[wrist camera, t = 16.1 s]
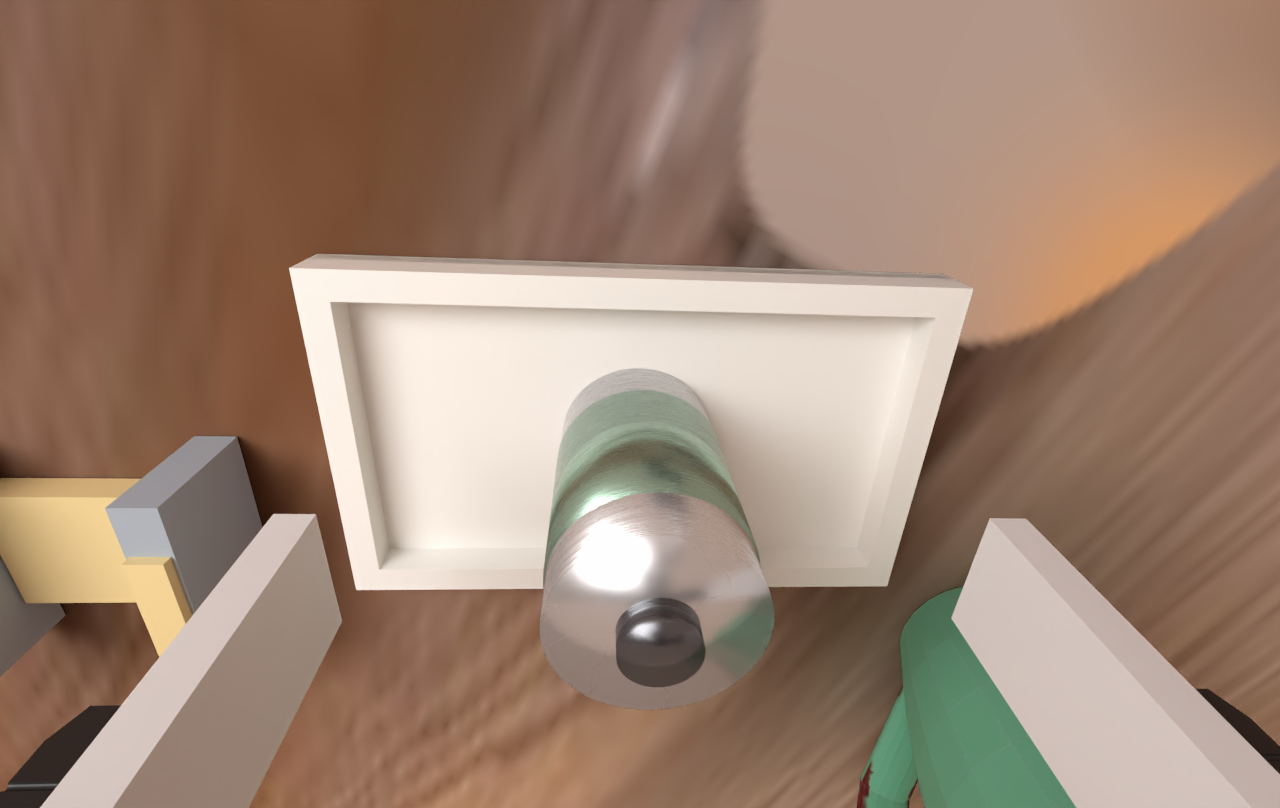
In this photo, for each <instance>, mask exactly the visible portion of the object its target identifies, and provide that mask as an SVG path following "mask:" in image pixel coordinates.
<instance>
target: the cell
mask: <svg viewBox="0 0 1280 808" xmlns="http://www.w3.org/2000/svg"><path fill="white" fill-rule="evenodd" d="M543 588H544V592H543V600H542V609H541V617H540V639H541V645H542V648H543V651H544V654H545V656H546V658H547V660H548V662H549V664H550V665H551V667H552V668H553V669H554V671H555V672H556V673H557V674H558V675H559V676H560V677H561V678H562V679H563V680H564V681H565V682H566V683H567V684H568V685H570V686H571V687H572V688H574V689H575V690H577V691H578V692H580V693H582V694H583V695H585V696H587V697H590V698H592V699H594V700H596V701H599V702H602V703H605V704H608V705H612V706H617V707H621V708H628V709H637V710H658V709H669V708H676V707H681V706H685V705H689V704H693V703H696V702H699V701H702V700H705V699H707V698H710V697H712V696H714V695H716V694H719V693H720V692H722V691H724V690H726V689H727V688H729V687H731V686H732V685H733V684H735V683H736V682H738V681H739V680H740V679H742V678H743V677H744V676H745V675H746V674H747V673H748V672H749V671H750V670H751V669H752V668H753V667H754V666H755V665H756V663H757V662H758V661H759V660H760V658H761V657H762V655H763V654H764V652H765V650H766V648H767V646H768V644H769V642H770V639H771V636H772V632H773V628H774V619H775V616H774V605H773V601H772V597H771V594H770V591H769V588H768V585H767V582H766V579H765V577H764V574H763V571H762V568H761V565H760V558H759V554H758V550H757V547H756V544H755V541H754V538H753V535H752V533H751V530H750V527H749V524H748V521H747V519H746V516H745V513H744V510H743V507H742V505H741V502H740V499H739V496H738V494H737V491H736V488H735V485H734V482H733V480H732V477H731V474H730V471H729V468H728V466H727V463H726V460H725V457H724V455H723V452H722V449H721V446H720V443H719V441H718V438H717V436H716V433H715V431H714V429H713V427H712V426H711V423H710V421H709V418H708V415H707V412H706V410H705V408H704V405H703V403H702V402H701V400H700V399H699V397H698V396H697V394H696V393H695V392H694V391H693V390H692V389H691V388H690V387H689V386H688V385H687V384H685V383H684V382H682V381H681V380H679V379H678V378H676V377H674V376H672V375H670V374H667V373H664V372H661V371H658V370H653V369H645V368H630V369H624V370H619V371H615V372H612V373H609V374H606V375H604V376H602V377H600V378H598V379H596V380H595V381H593V382H592V383H590V384H589V385H588V386H586V387H585V388H584V389H583V390H582V391H581V392H580V393H579V394H578V395H577V397H576V398H575V399H574V401H573V402H572V404H571V405H570V407H569V409H568V411H567V414H566V417H565V420H564V425H563V431H562V440H561V444H560V447H559V452H558V458H557V466H556V474H555V482H554V490H553V498H552V506H551V514H550V522H549V530H548V538H547V546H546V554H545V563H544V571H543Z"/></svg>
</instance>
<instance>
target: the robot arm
mask: <svg viewBox="0 0 1280 808" xmlns="http://www.w3.org/2000/svg"><path fill="white" fill-rule="evenodd" d="M951 619H952V620H953V622H954V623H955V625H956V626H957V628H958V629H959V631H960V632H961V634H962V635H963V637H964V638H965V640H966V641H967V643H968V644H969V646H970V647H971V649H972V650H973V652H974V653H975V655H976V657H977V658H978V660H979V661H980V663H981V664H982V666H983V667H984V669H985V670H986V672H987V673H988V675H989V676H990V678H991V679H992V681H993V682H994V684H995V685H996V687H997V688H998V690H999V691H1000V693H1001V694H1002V696H1003V697H1004V699H1005V700H1006V702H1007V703H1008V705H1009V706H1010V708H1011V710H1012V711H1013V713H1014V714H1015V716H1016V717H1017V719H1018V720H1019V722H1020V723H1021V725H1022V726H1023V728H1024V729H1025V731H1026V732H1027V734H1028V735H1029V737H1030V738H1031V740H1032V741H1033V743H1034V744H1035V746H1036V747H1037V749H1038V750H1039V752H1040V753H1041V755H1042V756H1043V758H1044V760H1045V761H1046V763H1047V764H1048V766H1049V767H1050V769H1051V770H1052V772H1053V773H1054V775H1055V776H1056V778H1057V779H1058V781H1059V782H1060V784H1061V785H1062V787H1063V788H1064V790H1065V791H1066V793H1067V794H1068V796H1069V797H1070V799H1071V800H1072V802H1073V803H1074V805H1075V806H1076V808H1280V746H1278V745H1277V744H1276V743H1275V742H1274V741H1273V740H1272V739H1271V738H1270V737H1269V736H1268V735H1267V734H1266V733H1265V732H1264V731H1263V730H1262V729H1261V728H1260V727H1259V726H1258V725H1257V724H1256V723H1255V722H1254V721H1253V720H1252V719H1251V718H1249V717H1248V716H1246V715H1245V714H1243V713H1242V712H1240V711H1239V710H1238V709H1236V708H1235V707H1233V706H1232V705H1230V704H1229V703H1227V702H1226V701H1224V700H1223V699H1222V698H1220V697H1219V696H1217V695H1216V694H1214V693H1213V692H1211V691H1210V690H1209V689H1195V688H1194V687H1193V686H1192V685H1191V684H1190V683H1189V682H1188V681H1187V680H1186V679H1185V678H1184V677H1183V676H1182V675H1181V674H1180V673H1179V672H1178V671H1177V670H1176V669H1175V668H1174V667H1173V666H1172V665H1171V664H1170V663H1169V662H1168V661H1167V660H1166V659H1165V658H1164V657H1163V656H1162V655H1161V654H1160V653H1159V652H1158V651H1157V650H1156V649H1155V648H1154V647H1153V646H1152V645H1151V644H1150V643H1149V642H1148V641H1147V640H1146V639H1145V638H1144V637H1143V636H1142V635H1141V634H1140V633H1139V632H1138V631H1137V630H1136V629H1135V628H1134V627H1133V626H1132V625H1131V624H1130V623H1129V622H1128V621H1127V620H1126V619H1125V618H1124V617H1123V616H1122V615H1121V614H1120V613H1119V612H1118V611H1117V610H1116V609H1115V608H1114V607H1113V606H1112V605H1111V604H1110V603H1109V602H1108V601H1107V600H1106V599H1105V598H1104V597H1103V596H1102V595H1101V594H1100V593H1099V592H1098V591H1097V590H1096V589H1095V588H1094V587H1093V586H1092V585H1091V584H1090V583H1089V582H1088V581H1087V580H1086V579H1085V577H1084V576H1083V575H1082V574H1081V573H1080V572H1079V571H1078V570H1077V569H1076V568H1075V567H1074V566H1073V565H1072V564H1071V563H1070V562H1069V561H1068V560H1067V559H1066V558H1065V557H1064V556H1063V555H1062V554H1061V553H1060V552H1059V551H1058V550H1057V549H1056V548H1055V547H1054V546H1053V545H1052V544H1051V543H1050V542H1049V541H1048V540H1047V539H1046V538H1045V537H1044V536H1043V535H1042V534H1041V533H1040V532H1039V531H1038V530H1037V529H1036V528H1035V527H1034V526H1033V525H1032V524H1031V523H1030V522H1029V521H1028V520H1027V519H1007V518H990V519H989V522H988V524H987V527H986V529H985V532H984V535H983V537H982V540H981V542H980V545H979V548H978V550H977V553H976V555H975V558H974V560H973V563H972V566H971V568H970V571H969V573H968V576H967V579H966V581H965V584H964V586H963V589H962V592H961V594H960V597H959V599H958V602H957V605H956V607H955V610H954V612H953V615H952V618H951ZM341 623H342V619H341V615H340V611H339V606H338V602H337V598H336V594H335V590H334V586H333V582H332V578H331V574H330V570H329V566H328V562H327V557H326V553H325V549H324V545H323V541H322V537H321V533H320V529H319V525H318V521H317V517H316V514H273V515H272V516H271V518H270V519H269V520H268V521H267V523H266V524H265V525H264V526H263V528H262V529H261V530H260V531H259V533H258V534H257V535H256V536H255V538H254V539H253V540H252V541H251V543H250V544H249V545H248V546H247V548H246V549H245V550H244V552H243V553H242V554H241V555H240V557H239V558H238V559H237V560H236V562H235V563H234V564H233V565H232V567H231V568H230V569H229V570H228V572H227V573H226V574H225V575H224V577H223V578H222V579H221V580H220V582H219V583H218V584H217V586H216V587H215V588H214V589H213V591H212V592H211V593H210V594H209V596H208V597H207V598H206V599H205V601H204V602H203V603H202V604H201V606H200V607H199V608H198V609H197V611H196V612H195V613H194V614H193V616H192V617H191V618H190V619H189V621H188V622H187V623H186V625H185V626H184V627H183V628H182V630H181V631H180V632H179V633H178V635H177V636H176V637H175V638H174V640H173V641H172V642H171V643H170V645H169V646H168V647H167V648H166V650H165V651H164V652H163V653H162V655H161V656H160V657H159V659H158V660H157V661H156V662H155V664H154V665H153V666H152V667H151V669H150V670H149V671H148V672H147V674H146V675H145V676H144V677H143V679H142V680H141V681H140V682H139V684H138V685H137V686H136V687H135V689H134V690H133V691H132V692H131V694H130V695H129V696H128V698H127V699H126V700H125V701H124V703H123V704H122V705H121V706H90V707H88V708H87V709H86V710H84V711H83V712H82V713H81V714H79V715H78V716H77V717H75V718H74V719H73V720H71V721H70V722H69V723H68V724H66V725H65V726H64V727H62V728H61V729H60V730H58V731H57V732H56V733H54V734H53V735H52V736H51V737H49V738H48V739H47V740H45V741H44V742H43V743H42V745H41V746H40V747H39V748H38V749H37V750H36V751H35V753H34V754H33V755H32V756H31V757H30V758H29V760H28V761H27V762H26V763H25V764H24V765H23V766H22V768H21V769H20V770H19V771H18V772H17V773H16V774H15V776H14V777H13V778H12V779H11V780H10V781H9V783H8V788H7V789H6V790H5V791H3V792H0V808H249V806H250V804H251V802H252V800H253V798H254V796H255V794H256V792H257V790H258V788H259V786H260V784H261V782H262V780H263V778H264V776H265V774H266V772H267V770H268V768H269V766H270V764H271V762H272V760H273V758H274V756H275V754H276V752H277V750H278V748H279V746H280V744H281V742H282V740H283V738H284V736H285V734H286V732H287V730H288V728H289V726H290V724H291V722H292V720H293V718H294V716H295V714H296V712H297V710H298V708H299V706H300V704H301V702H302V700H303V698H304V696H305V694H306V692H307V690H308V688H309V686H310V684H311V682H312V680H313V678H314V676H315V674H316V672H317V670H318V669H319V667H320V665H321V663H322V661H323V659H324V657H325V655H326V653H327V651H328V649H329V647H330V645H331V643H332V641H333V639H334V637H335V635H336V633H337V631H338V629H339V627H340V625H341Z"/></svg>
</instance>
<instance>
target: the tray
mask: <svg viewBox="0 0 1280 808" xmlns="http://www.w3.org/2000/svg"><path fill="white" fill-rule="evenodd" d="M289 270H290V275H291V280H292V284H293V289H294V294H295V299H296V304H297V308H298V313H299V318H300V323H301V328H302V332H303V337H304V342H305V347H306V352H307V356H308V361H309V366H310V371H311V376H312V380H313V385H314V390H315V395H316V400H317V404H318V409H319V414H320V419H321V424H322V428H323V433H324V438H325V443H326V448H327V452H328V457H329V462H330V467H331V472H332V476H333V481H334V486H335V491H336V496H337V500H338V505H339V510H340V515H341V520H342V524H343V529H344V534H345V539H346V544H347V548H348V553H349V558H350V563H351V568H352V572H353V577H354V582H355V587H356V590H436V589H544V588H543V571H544V563H545V554H546V546H547V538H548V530H549V522H550V514H551V506H552V498H553V490H554V482H555V474H556V466H557V458H558V452H559V447H560V444H561V440H562V431H563V425H564V420H565V417H566V414H567V411H568V409H569V407H570V405H571V404H572V402H573V401H574V399H575V398H576V397H577V395H578V394H579V393H580V392H581V391H582V390H583V389H584V388H585V387H586V386H588V385H589V384H590V383H592V382H593V381H595V380H596V379H598V378H600V377H602V376H604V375H606V374H609V373H612V372H615V371H619V370H624V369H630V368H645V369H653V370H658V371H661V372H664V373H667V374H670V375H672V376H674V377H676V378H678V379H679V380H681V381H682V382H684V383H685V384H687V385H688V386H689V387H690V388H691V389H692V390H693V391H694V392H695V393H696V394H697V396H698V397H699V399H700V400H701V402H702V403H703V405H704V408H705V410H706V412H707V415H708V418H709V421H710V423H711V426H712V427H713V429H714V431H715V433H716V436H717V438H718V441H719V443H720V446H721V449H722V452H723V455H724V457H725V460H726V463H727V466H728V468H729V471H730V474H731V477H732V480H733V482H734V485H735V488H736V491H737V494H738V496H739V499H740V502H741V505H742V507H743V510H744V513H745V516H746V519H747V521H748V524H749V527H750V530H751V533H752V535H753V538H754V541H755V544H756V547H757V550H758V554H759V558H760V565H761V568H762V571H763V574H764V577H765V579H766V582H767V585H768V587H847V586H887V585H888V581H889V578H890V575H891V571H892V568H893V564H894V561H895V557H896V554H897V550H898V547H899V544H900V540H901V537H902V533H903V530H904V526H905V523H906V519H907V516H908V513H909V509H910V506H911V502H912V499H913V495H914V492H915V489H916V485H917V482H918V478H919V475H920V471H921V468H922V464H923V461H924V458H925V454H926V451H927V447H928V444H929V440H930V437H931V433H932V430H933V427H934V423H935V420H936V416H937V413H938V409H939V406H940V402H941V399H942V396H943V392H944V389H945V385H946V382H947V378H948V375H949V372H950V368H951V365H952V361H953V358H954V354H955V351H956V347H957V344H958V341H959V337H960V334H961V330H962V327H963V323H964V320H965V316H966V313H967V309H968V306H969V302H970V299H971V296H972V292H973V288H971V287H969V286H967V285H965V284H963V283H960V282H959V281H956V280H954V279H952V278H950V277H948V276H946V275H944V274H936V273H905V272H874V271H843V270H812V269H781V268H749V267H718V266H687V265H655V264H624V263H593V262H561V261H530V260H498V259H467V258H436V257H404V256H373V255H342V254H316V255H314V256H312V257H310V258H308V259H306V260H304V261H302V262H300V263H298V264H296V265H294V266H292V267H290V268H289Z"/></svg>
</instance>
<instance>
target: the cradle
mask: <svg viewBox="0 0 1280 808" xmlns="http://www.w3.org/2000/svg"><path fill="white" fill-rule="evenodd" d="M262 528H263V527H262V524H261V520H260V517H259V513H258V509H257V506H256V502H255V499H254V495H253V492H252V488H251V484H250V481H249V477H248V474H247V470H246V467H245V463H244V459H243V456H242V452H241V449H240V445H239V442H238V438H237V437H228V436H194V437H193V438H192V439H190V440H189V441H188V442H187V443H185V444H184V445H183V446H182V447H181V448H179V449H178V450H177V451H176V452H174V453H173V454H172V455H171V456H169V457H168V458H167V459H166V460H164V461H163V462H162V463H161V464H159V465H158V466H157V467H156V468H154V469H153V470H152V471H151V472H149V473H148V474H147V475H146V476H144V477H143V478H142V479H113V478H0V677H1V676H2V675H3V674H4V673H5V672H6V671H7V670H8V669H9V668H10V667H11V666H12V665H13V664H14V663H15V662H16V661H18V660H19V659H20V658H21V657H22V656H23V655H24V654H25V653H26V652H27V651H28V650H29V649H30V648H31V647H32V646H33V645H35V644H36V643H37V642H38V641H39V640H40V639H41V638H42V637H43V636H44V635H45V634H46V633H47V632H48V631H49V630H50V629H52V628H53V627H54V626H55V625H56V624H57V623H58V622H59V621H60V620H61V619H62V618H63V617H64V616H65V613H64V611H63V609H62V607H61V605H60V603H124V602H136V603H137V605H138V608H139V610H140V612H141V615H142V617H143V619H144V622H145V624H146V627H147V629H148V631H149V634H150V636H151V638H152V641H153V643H154V646H155V648H156V650H157V653H158V655H159V657H160V656H161V655H162V653H163V652H164V651H165V650H166V648H167V647H168V646H169V645H170V643H171V642H172V641H173V640H174V638H175V637H176V636H177V635H178V633H179V632H180V631H181V630H182V628H183V627H184V626H185V625H186V623H187V622H188V621H189V619H190V618H191V617H192V616H193V614H194V613H195V612H196V611H197V609H198V608H199V607H200V606H201V604H202V603H203V602H204V601H205V599H206V598H207V597H208V596H209V594H210V593H211V592H212V591H213V589H214V588H215V587H216V586H217V584H218V583H219V582H220V580H221V579H222V578H223V577H224V575H225V574H226V573H227V572H228V570H229V569H230V568H231V567H232V565H233V564H234V563H235V562H236V560H237V559H238V558H239V557H240V555H241V554H242V553H243V552H244V550H245V549H246V548H247V546H248V545H249V544H250V543H251V541H252V540H253V539H254V538H255V536H256V535H257V534H258V533H259V531H260V530H261V529H262Z"/></svg>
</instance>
